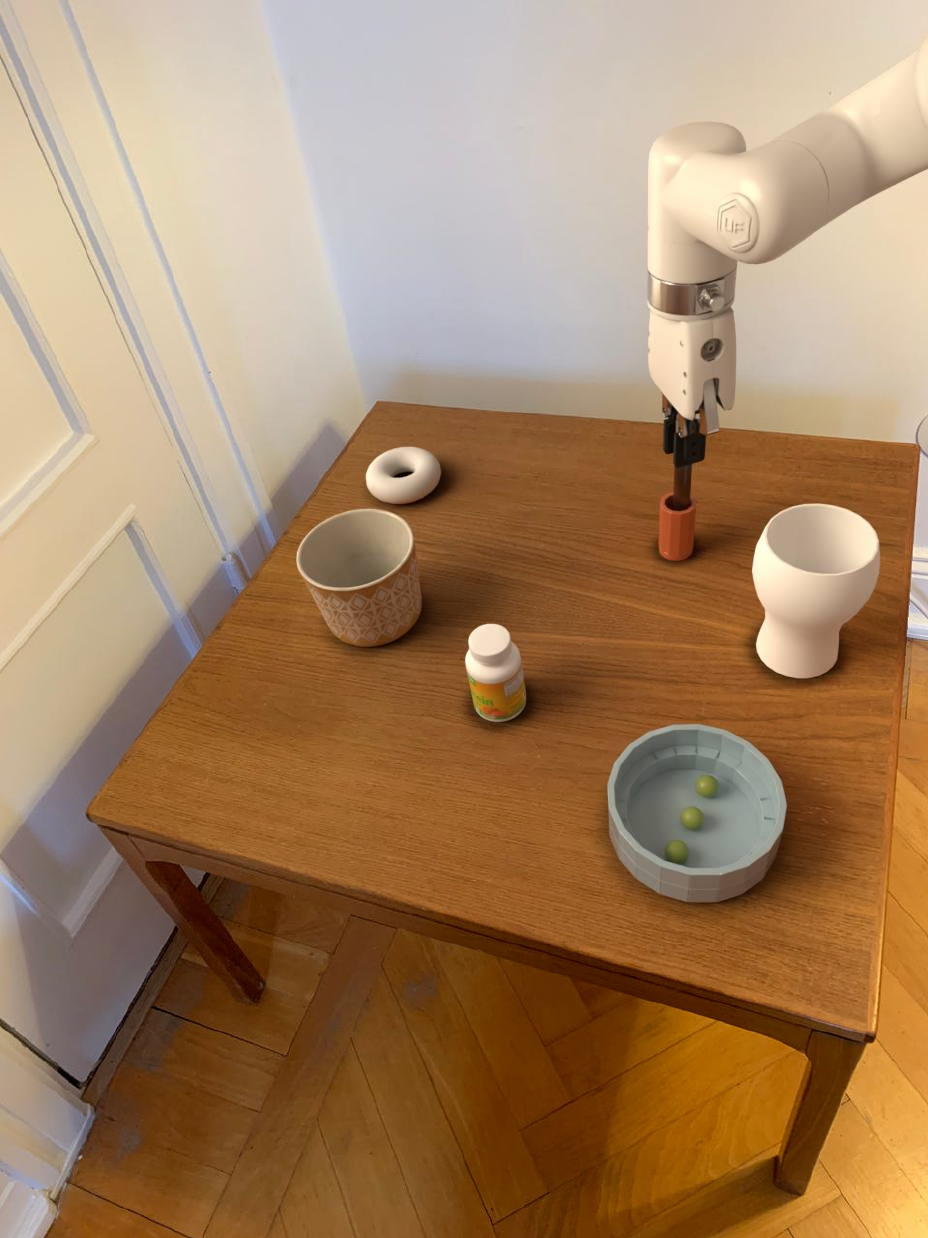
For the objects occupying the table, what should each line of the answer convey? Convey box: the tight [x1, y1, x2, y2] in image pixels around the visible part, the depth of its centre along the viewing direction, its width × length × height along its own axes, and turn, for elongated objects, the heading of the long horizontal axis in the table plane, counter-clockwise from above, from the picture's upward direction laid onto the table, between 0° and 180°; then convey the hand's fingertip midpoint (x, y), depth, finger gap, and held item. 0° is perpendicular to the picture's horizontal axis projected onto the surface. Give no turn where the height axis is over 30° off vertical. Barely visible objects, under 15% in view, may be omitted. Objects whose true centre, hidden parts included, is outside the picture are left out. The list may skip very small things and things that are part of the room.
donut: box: [365, 446, 442, 505], centre depth 112 cm, size 10×4×10 cm
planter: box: [295, 508, 423, 648], centre depth 94 cm, size 13×13×10 cm
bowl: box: [606, 723, 788, 903], centre depth 73 cm, size 14×14×6 cm
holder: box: [658, 491, 698, 562], centre depth 96 cm, size 4×4×7 cm
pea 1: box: [665, 840, 689, 865], centre depth 72 cm, size 2×2×2 cm
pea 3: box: [695, 775, 719, 798], centre depth 75 cm, size 2×2×2 cm
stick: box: [672, 412, 696, 511], centre depth 90 cm, size 2×2×17 cm
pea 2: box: [680, 806, 704, 830], centre depth 74 cm, size 2×2×2 cm
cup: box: [751, 503, 881, 679], centre depth 81 cm, size 11×11×15 cm
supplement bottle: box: [464, 623, 527, 723], centre depth 83 cm, size 5×5×10 cm
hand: (683, 455), depth 88 cm, fingers closed on stick, 1 cm apart
